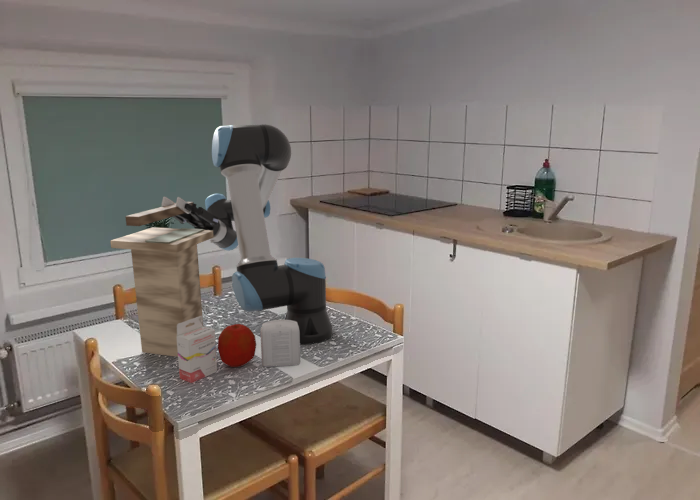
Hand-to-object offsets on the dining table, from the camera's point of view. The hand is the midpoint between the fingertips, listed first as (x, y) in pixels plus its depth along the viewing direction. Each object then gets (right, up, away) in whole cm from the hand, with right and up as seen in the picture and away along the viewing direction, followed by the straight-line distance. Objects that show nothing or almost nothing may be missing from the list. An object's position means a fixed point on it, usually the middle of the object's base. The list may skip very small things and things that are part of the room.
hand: (170, 201), depth 162 cm
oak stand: (+1, -42, -1) cm, 42 cm away
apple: (+22, -45, -12) cm, 51 cm away
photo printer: (+33, -45, -12) cm, 57 cm away
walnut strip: (-1, -5, -3) cm, 6 cm away
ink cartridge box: (+13, -46, -18) cm, 52 cm away
